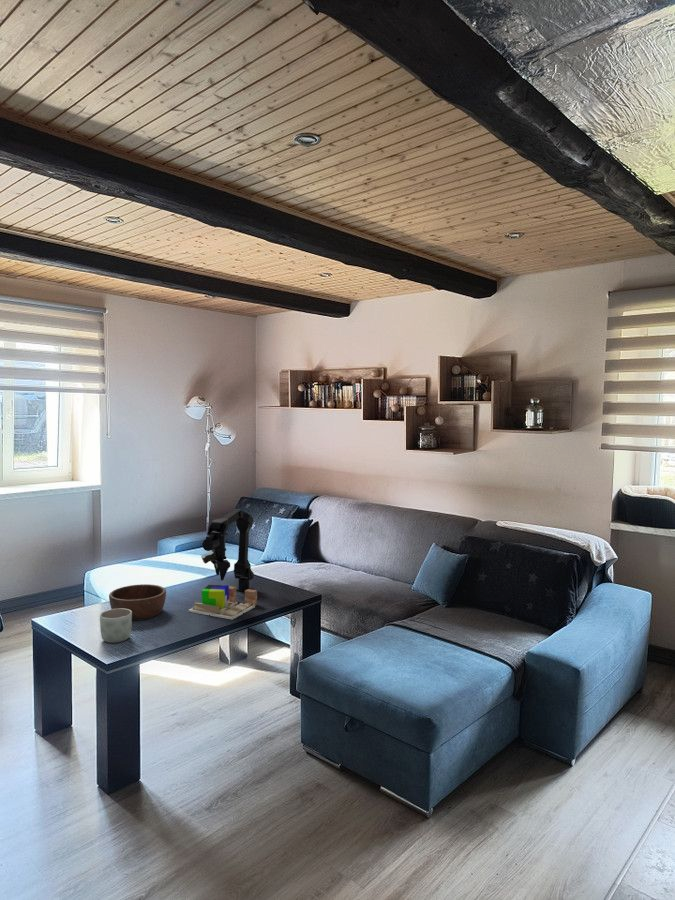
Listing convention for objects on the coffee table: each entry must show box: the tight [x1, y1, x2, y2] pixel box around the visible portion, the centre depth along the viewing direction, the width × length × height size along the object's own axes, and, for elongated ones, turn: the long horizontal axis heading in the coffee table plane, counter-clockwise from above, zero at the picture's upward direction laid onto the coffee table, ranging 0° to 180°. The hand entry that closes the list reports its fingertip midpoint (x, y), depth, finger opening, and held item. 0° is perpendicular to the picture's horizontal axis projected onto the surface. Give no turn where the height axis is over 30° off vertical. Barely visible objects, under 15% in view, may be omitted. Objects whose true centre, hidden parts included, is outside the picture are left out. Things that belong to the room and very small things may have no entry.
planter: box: [99, 608, 133, 644], centre depth 248 cm, size 12×12×11 cm
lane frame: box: [188, 602, 256, 620], centre depth 287 cm, size 19×24×1 cm
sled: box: [192, 585, 239, 614], centre depth 290 cm, size 21×15×7 cm
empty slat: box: [223, 589, 258, 617], centre depth 285 cm, size 21×5×7 cm, turn 156°
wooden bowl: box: [108, 583, 167, 621], centre depth 280 cm, size 25×25×10 cm
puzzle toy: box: [201, 584, 230, 610], centre depth 287 cm, size 10×10×10 cm
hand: (219, 577), depth 294 cm, fingers open, 9 cm apart
